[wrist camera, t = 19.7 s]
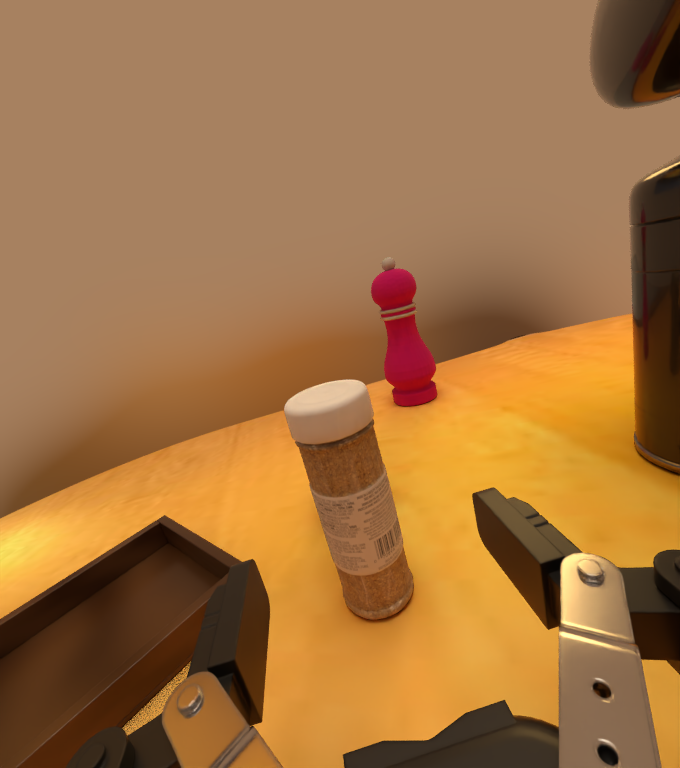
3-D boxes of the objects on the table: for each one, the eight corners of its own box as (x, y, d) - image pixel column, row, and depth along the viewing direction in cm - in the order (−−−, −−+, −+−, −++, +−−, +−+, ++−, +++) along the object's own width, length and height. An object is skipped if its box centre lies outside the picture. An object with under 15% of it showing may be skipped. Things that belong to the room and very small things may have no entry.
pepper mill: (429, 408, 48) (399, 253, 43) (382, 407, 52) (349, 267, 47) (448, 388, 53) (423, 248, 48) (404, 389, 58) (377, 261, 52)
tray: (174, 537, 34) (164, 514, 33) (259, 594, 25) (248, 564, 24) (-55, 695, 23) (-76, 666, 23) (-55, 898, 14) (-91, 861, 13)
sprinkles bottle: (383, 552, 26) (336, 373, 22) (431, 589, 22) (384, 381, 18) (330, 592, 23) (268, 401, 20) (372, 641, 20) (306, 416, 16)
